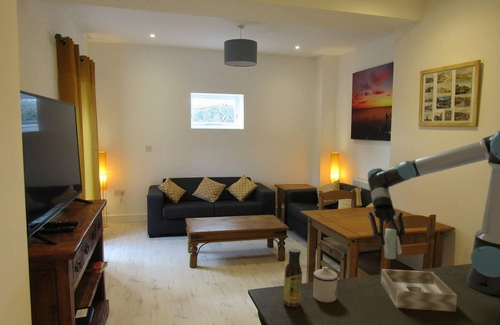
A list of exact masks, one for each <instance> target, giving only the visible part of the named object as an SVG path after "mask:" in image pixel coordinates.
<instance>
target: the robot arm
mask: <svg viewBox="0 0 500 325" xmlns="http://www.w3.org/2000/svg"><path fill="white" fill-rule="evenodd" d="M481 161H487V164H488V165H489V166H490V167H491V173H490V179H489V184H488V191H487V195H486V199H485V200H486V201H485V207H484V211H483V218H482V223H481V229H479V230H476V231H475V235H474V239H473V240H474V241H473V247H472V252H471V254H470V262H471V264H472V266H471V269H470V270H469V273H468V275H467V276H466V284H467V285H468V286H469V287H470V288H471V289H473V290H476V291H478V292H481V293H484V294H488V295H492V296H498V297H500V130H498V131H496V133H494V134H491V135H488V136H486V137H483V138H482V139H481V140H480V141H477V142H474V143H473V142H472V143H470V144H467V145H463V146H460V147H455V148H452V149H448V150H445V151H441V152H438V153H434V154H431V155H427V156H424V157H421V158H416V159H414V160H413V159H412V160H404V161H402V162H399V163H397V164H396V165H393V166H391V167H389V168H385V169H383V168H380V167H378V168H377V167H376V168H372V169H370V170H369V171H368V172H367V182H368V187H369V191H370V197H371V201H372V205H373V206H372V207H373V212H371V211H370V212H369V213H368V214H367V217H368V219H369V221H370V224H371V229H372V234H373V236H374V237H378V240H379V242H380V245H381V246H383V250H384V254H388V252H389V248H388V244H387V239H386V235H385V234H384V232H385V228H384V223H385V222H387V223H388V224H389V225H390V228H393V229H396V253H397V255H399V256H400V255H401V254H402V252H403V250H402V247H401V246H402V244H403V239H402V238H404V236H405V234H406V231H405V226H404V220H403V216H404V215H403V212H397V211H395V209H394V206H393V200H392V197H391V194H390V190H389V188H390V187H393V186H396V185H399V184H401V183H403V182H406V181H409V180H411V179H414V178H418V177H422V176H425V175H429V174H433V173H438V172H443V171H445V170H450V169H453V168H457V167H462V166H467V165H471V164H473V163H474V164H475V163H478V162H481ZM375 217H376V218H377V219H378V225H377V221H376V218H375ZM394 217H395V218H396V219H397V220H396V221H395V218H394ZM396 222H397V224H396Z"/></svg>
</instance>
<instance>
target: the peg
mask: <svg viewBox="0 0 500 325" xmlns="http://www.w3.org/2000/svg"><path fill="white" fill-rule="evenodd" d="M384 235H386V239H387V244H388V248H389V252H388V254H385V253H384V256H383V257H384V258H385V259H386V260H387V259H388V260H395V259H396V256H397V254H396V253H397V248H396V229H393V228H391V227H387V228H384Z"/></svg>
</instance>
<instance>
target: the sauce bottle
mask: <svg viewBox="0 0 500 325" xmlns="http://www.w3.org/2000/svg"><path fill="white" fill-rule="evenodd" d="M288 254H289V255H288V256H289V258H288V263H287V264H286V266H285V269H284V270H285V272H284V280H283V281H284V283H283V304H284V306H286V307H287V308H288V307H289V308H297V307H299V306H300V305H301V300H302V286H303V284H302V283H303V271H302V268H301V264H300V262H301V261H300V259H301V258H300V255H301V250H300V249H298V248H290V249H288Z"/></svg>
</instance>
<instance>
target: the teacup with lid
mask: <svg viewBox="0 0 500 325" xmlns="http://www.w3.org/2000/svg"><path fill="white" fill-rule="evenodd" d="M312 275H313V276H312V277H313V285H312V286H313V289H312V291H313V292H312V295H313V298H314V299H315V300H316V301H318V302H321V303H325V304H326V303H333V302H335V301H336V300H337V294H338V279H339V276H338V274H337V273H336V272H335V271H333V270H332V269H330V268H329V266H323V267H322V268H321V269H319V268H318V269H316V270H314V272H313V274H312Z"/></svg>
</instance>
